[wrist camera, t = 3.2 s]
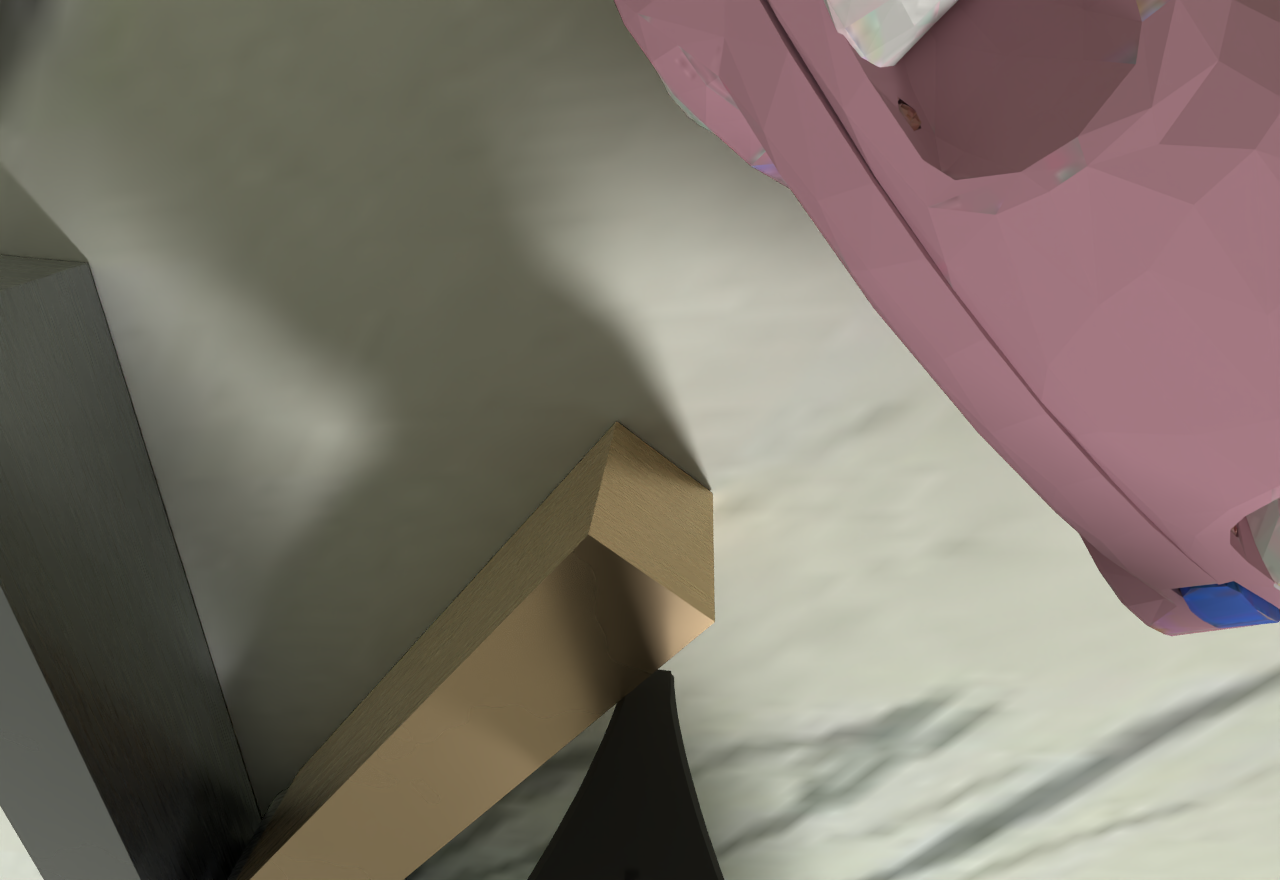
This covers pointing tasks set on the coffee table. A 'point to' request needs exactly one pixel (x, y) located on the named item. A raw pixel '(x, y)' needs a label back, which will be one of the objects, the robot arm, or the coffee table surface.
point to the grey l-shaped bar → (99, 617)
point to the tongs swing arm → (505, 672)
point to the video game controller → (1047, 242)
